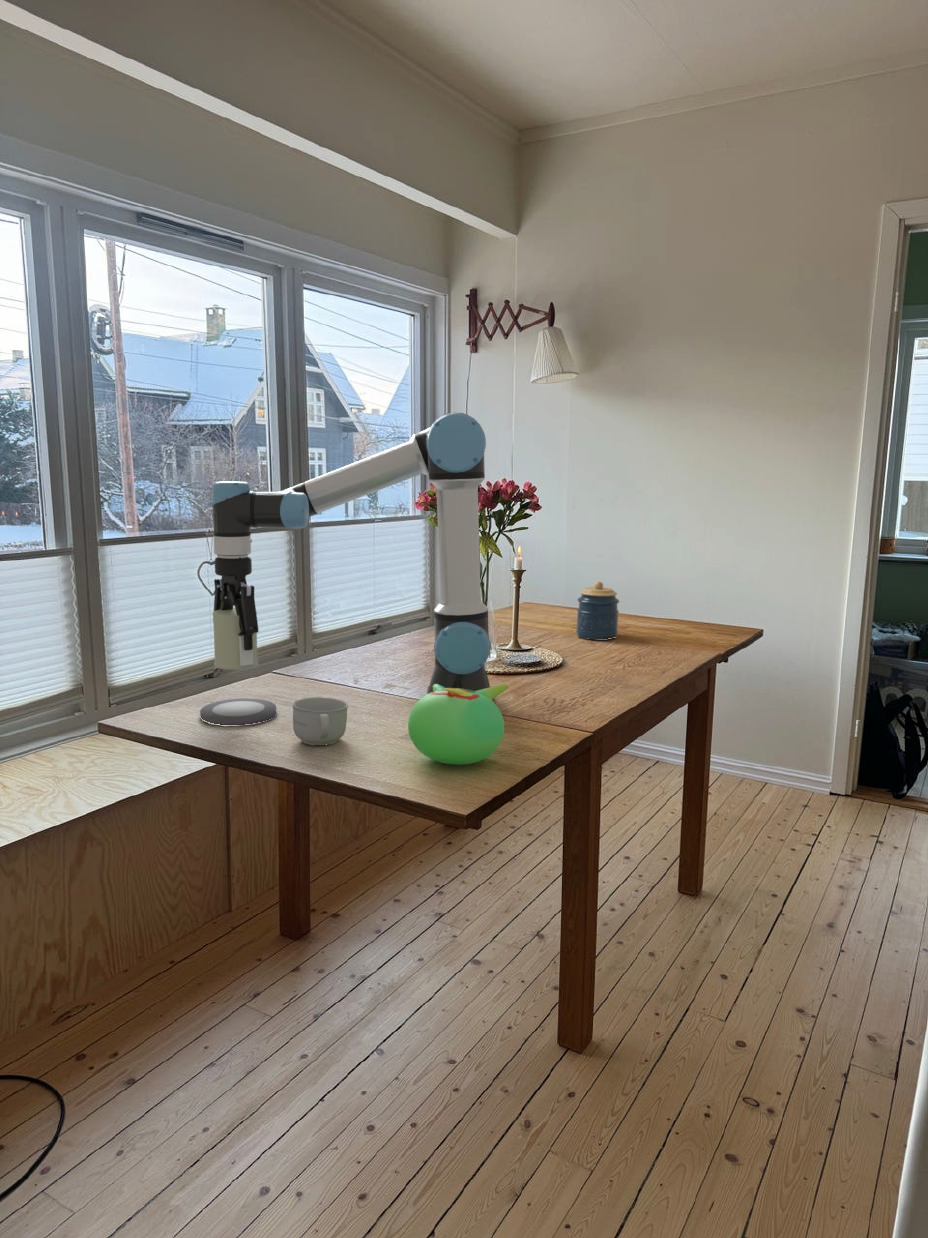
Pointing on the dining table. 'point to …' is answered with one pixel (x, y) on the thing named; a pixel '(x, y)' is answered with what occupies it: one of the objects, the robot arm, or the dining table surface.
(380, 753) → the dining table surface
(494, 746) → the green round lump
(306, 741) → the teacup
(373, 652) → the dining table surface
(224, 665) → the can
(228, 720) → the pad
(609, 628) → the canister
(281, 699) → the dining table surface
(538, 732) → the dining table surface
